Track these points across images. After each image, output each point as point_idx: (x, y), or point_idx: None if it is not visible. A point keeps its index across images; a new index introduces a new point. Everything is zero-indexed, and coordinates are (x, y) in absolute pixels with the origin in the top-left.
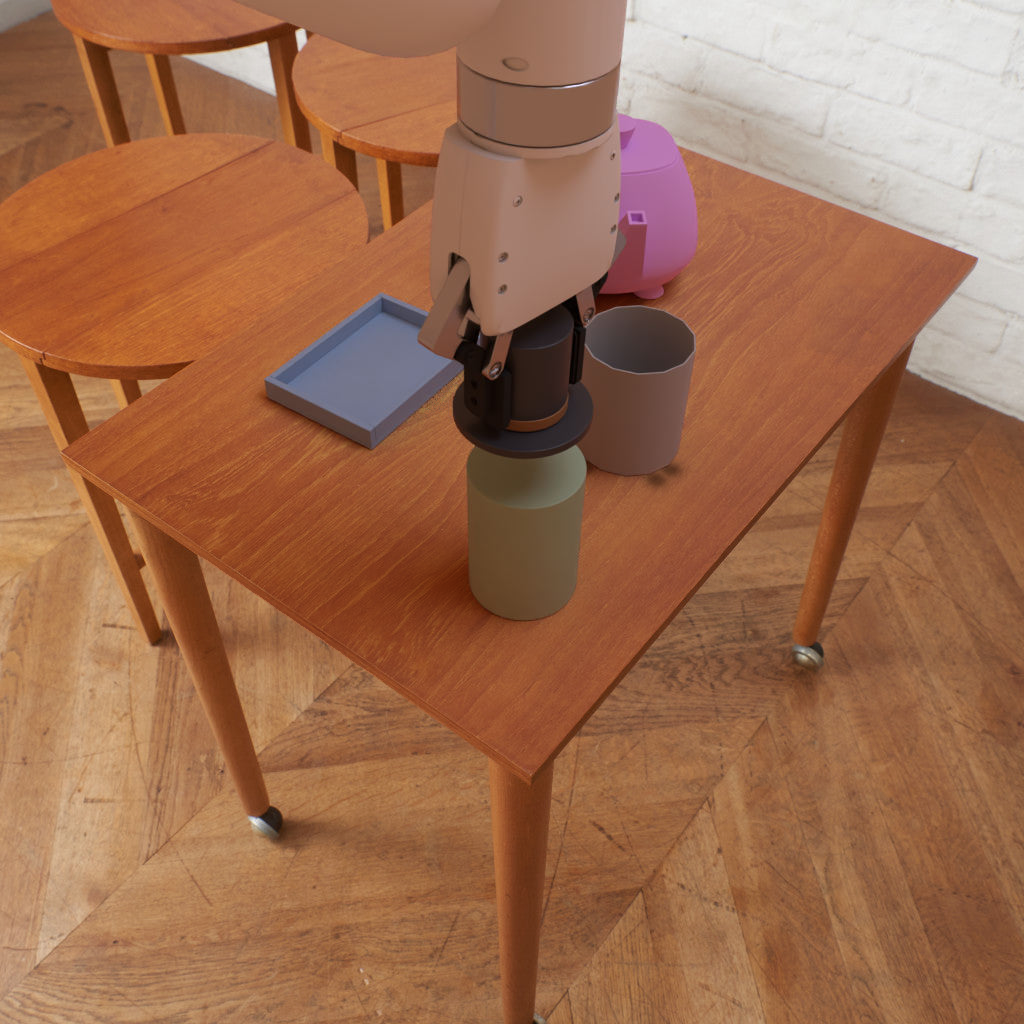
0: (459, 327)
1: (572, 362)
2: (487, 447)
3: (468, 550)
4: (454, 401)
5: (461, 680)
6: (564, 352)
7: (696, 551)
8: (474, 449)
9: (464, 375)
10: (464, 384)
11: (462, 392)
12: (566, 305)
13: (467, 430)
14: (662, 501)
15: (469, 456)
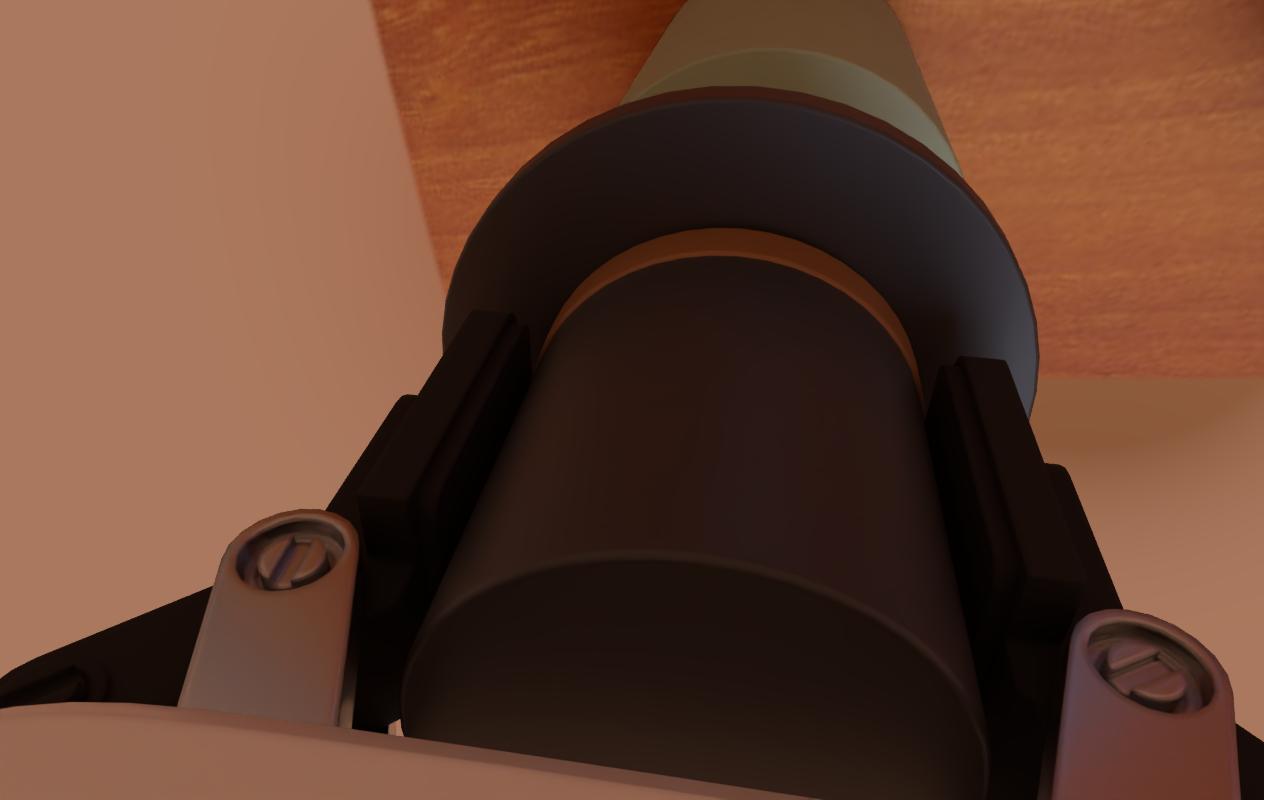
0: (188, 680)
1: None
2: None
3: (668, 29)
4: (522, 183)
5: (488, 181)
6: None
7: (1093, 343)
8: (704, 69)
9: (335, 495)
10: (361, 456)
11: (593, 167)
12: (1038, 787)
13: (447, 338)
14: (1227, 202)
15: (667, 80)
